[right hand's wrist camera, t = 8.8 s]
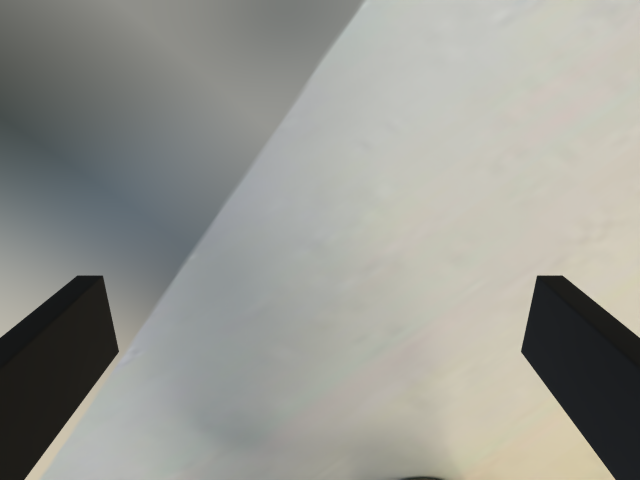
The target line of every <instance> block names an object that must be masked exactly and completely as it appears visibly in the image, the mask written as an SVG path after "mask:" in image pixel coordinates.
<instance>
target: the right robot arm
mask: <svg viewBox="0 0 640 480" xmlns="http://www.w3.org/2000/svg"><path fill="white" fill-rule="evenodd" d="M118 352H119V350H118V345H117V340H116V336H115V331H114V326H113V321H112V317H111V312H110V307H109V303H108V298H107V293H106V289H105V284H104V279H103V276H76V277H75V278H74V279H73V280H71V281H70V282H69V283H68V284H67V285H65V286H64V287H63V288H62V289H60V290H59V291H58V292H57V293H55V294H54V295H53V296H52V297H50V298H49V299H48V300H47V301H45V302H44V303H43V304H42V305H41V306H39V307H38V308H37V309H36V310H34V311H33V312H32V313H31V314H29V315H28V316H27V317H26V318H24V319H23V320H22V321H21V322H20V323H18V324H17V325H16V326H15V327H13V328H12V329H11V330H10V331H8V332H7V333H6V334H5V335H3V336H2V337H1V338H0V480H24V479H25V478H26V477H27V475H28V474H29V473H30V471H31V470H32V469H33V467H34V466H35V465H36V463H37V462H38V460H39V459H40V458H41V456H42V455H43V454H44V452H45V451H46V450H47V448H48V447H49V446H50V444H51V443H52V442H53V440H54V439H55V437H56V436H57V435H58V433H59V432H60V431H61V429H62V428H63V427H64V425H65V424H66V423H67V421H68V420H69V418H70V417H71V416H72V414H73V413H74V412H75V410H76V409H77V408H78V406H79V405H80V404H81V402H82V401H83V400H84V398H85V397H86V396H87V394H88V393H89V391H90V390H91V389H92V387H93V386H94V385H95V383H96V382H97V381H98V379H99V378H100V377H101V375H102V374H103V373H104V371H105V370H106V368H107V367H108V366H109V364H110V363H111V362H112V360H113V359H114V358H115V356H116V355H117V354H118ZM521 352H522V354H523V355H524V356H525V358H526V359H527V360H528V362H529V363H530V364H531V366H532V367H533V369H534V370H535V371H536V373H537V374H538V375H539V377H540V378H541V379H542V381H543V382H544V383H545V385H546V386H547V387H548V389H549V390H550V392H551V393H552V394H553V396H554V397H555V398H556V400H557V401H558V402H559V404H560V405H561V406H562V408H563V409H564V410H565V412H566V413H567V415H568V416H569V417H570V419H571V420H572V421H573V423H574V424H575V425H576V427H577V428H578V429H579V431H580V432H581V433H582V435H583V436H584V437H585V439H586V440H587V442H588V443H589V444H590V446H591V447H592V448H593V450H594V451H595V452H596V454H597V455H598V456H599V458H600V459H601V460H602V462H603V463H604V465H605V466H606V467H607V469H608V470H609V471H610V473H611V474H612V475H613V477H614V478H615V479H616V480H640V338H639V337H638V336H637V335H635V334H634V333H633V332H632V331H630V330H629V329H628V328H627V327H626V326H624V325H623V324H622V323H621V322H619V321H618V320H617V319H616V318H614V317H613V316H612V315H611V314H609V313H608V312H607V311H606V310H604V309H603V308H602V307H601V306H600V305H598V304H597V303H596V302H595V301H593V300H592V299H591V298H590V297H588V296H587V295H586V294H585V293H583V292H582V291H581V290H580V289H578V288H577V287H576V286H575V285H573V284H572V283H571V282H570V281H569V280H567V279H566V278H565V277H564V276H537V279H536V284H535V288H534V293H533V298H532V303H531V307H530V312H529V317H528V321H527V326H526V331H525V336H524V340H523V345H522V350H521ZM409 480H435V479H425V478H420V479H409Z"/></svg>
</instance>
